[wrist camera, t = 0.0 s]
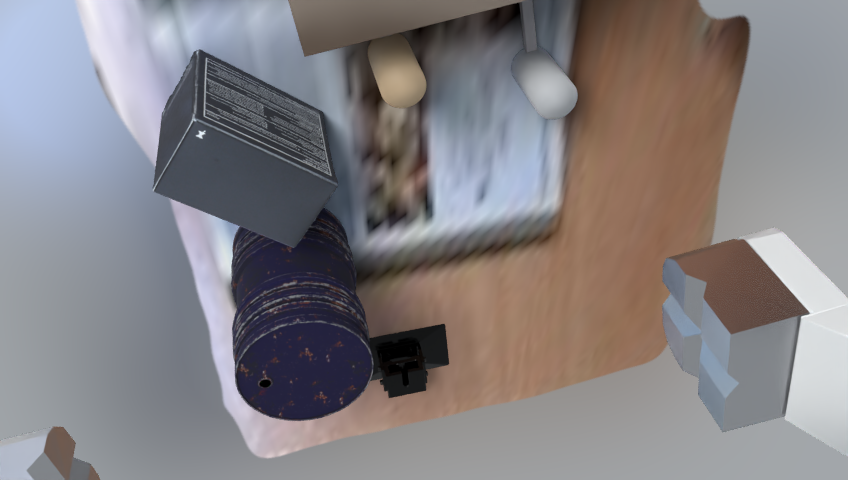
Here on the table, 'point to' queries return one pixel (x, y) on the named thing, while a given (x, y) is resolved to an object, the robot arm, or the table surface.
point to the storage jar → (299, 323)
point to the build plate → (408, 358)
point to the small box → (244, 151)
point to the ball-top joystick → (541, 73)
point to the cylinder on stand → (396, 71)
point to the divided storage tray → (373, 18)
